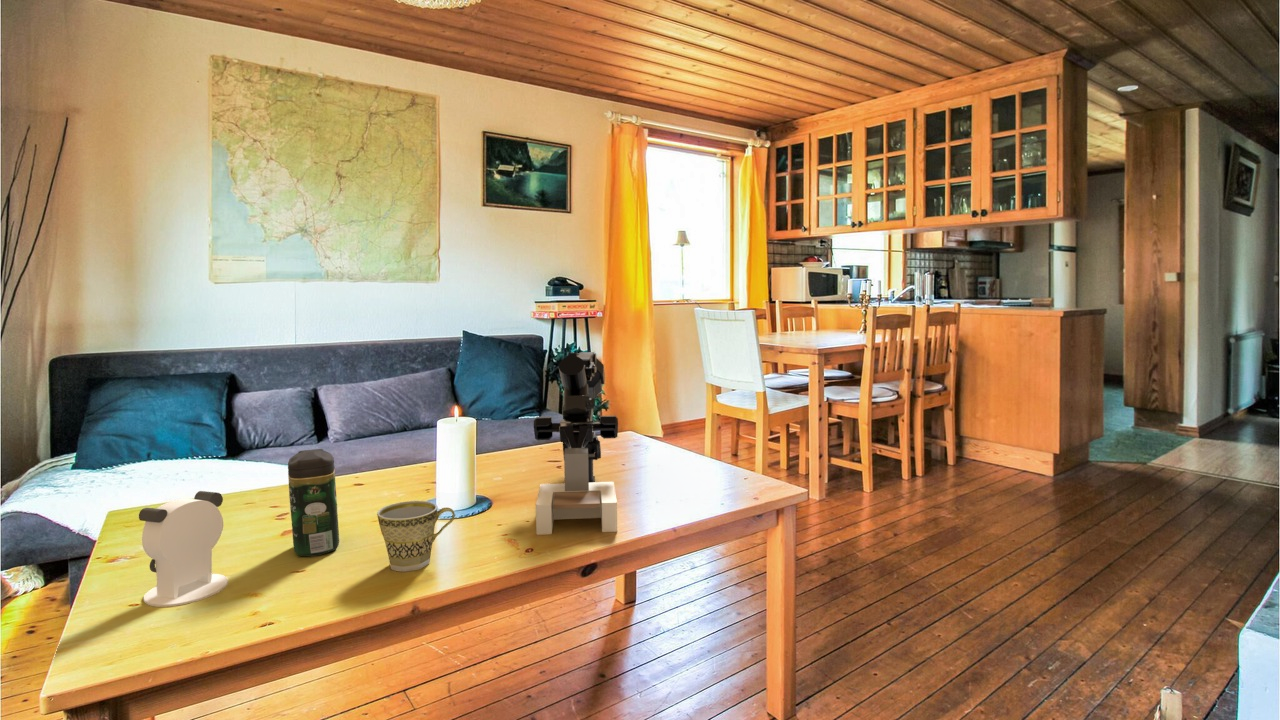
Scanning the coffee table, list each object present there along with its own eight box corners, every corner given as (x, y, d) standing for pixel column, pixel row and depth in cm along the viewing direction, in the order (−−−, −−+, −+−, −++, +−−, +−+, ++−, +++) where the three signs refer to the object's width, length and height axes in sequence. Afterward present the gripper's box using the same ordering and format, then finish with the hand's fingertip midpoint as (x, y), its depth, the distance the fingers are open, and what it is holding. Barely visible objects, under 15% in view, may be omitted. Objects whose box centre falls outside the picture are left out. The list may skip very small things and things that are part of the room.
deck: (540, 510, 146) (540, 484, 146) (613, 508, 148) (613, 481, 147) (536, 534, 132) (535, 505, 131) (617, 531, 133) (616, 502, 133)
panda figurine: (196, 570, 116) (189, 486, 115) (247, 578, 113) (241, 492, 111) (125, 601, 105) (117, 508, 103) (180, 610, 101) (172, 515, 100)
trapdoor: (554, 495, 140) (554, 491, 140) (598, 494, 141) (598, 490, 141) (553, 508, 131) (553, 505, 131) (599, 507, 132) (599, 503, 132)
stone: (565, 484, 145) (564, 448, 144) (588, 483, 146) (588, 447, 145) (564, 491, 140) (564, 454, 139) (588, 490, 141) (588, 453, 140)
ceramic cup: (381, 580, 112) (378, 522, 111) (378, 558, 121) (376, 504, 120) (460, 567, 117) (458, 511, 116) (452, 547, 126) (450, 495, 125)
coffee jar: (293, 543, 128) (287, 448, 126) (338, 536, 132) (333, 444, 130) (292, 561, 120) (285, 460, 118) (340, 553, 123) (334, 455, 121)
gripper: (533, 381, 148) (530, 441, 138) (617, 380, 150) (620, 439, 140) (536, 410, 157) (534, 468, 147) (615, 408, 158) (618, 466, 148)
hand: (576, 460), depth 145 cm, fingers closed
